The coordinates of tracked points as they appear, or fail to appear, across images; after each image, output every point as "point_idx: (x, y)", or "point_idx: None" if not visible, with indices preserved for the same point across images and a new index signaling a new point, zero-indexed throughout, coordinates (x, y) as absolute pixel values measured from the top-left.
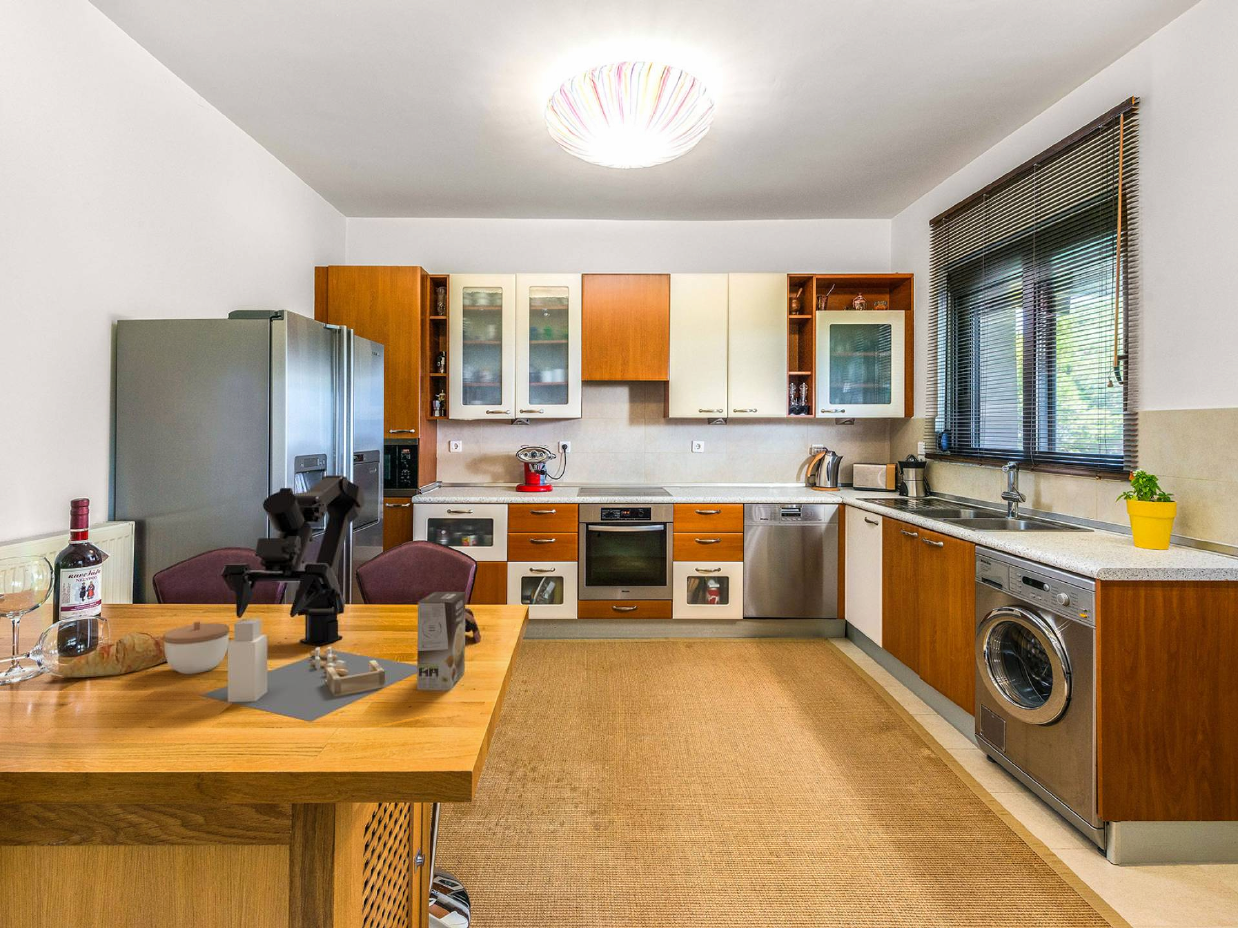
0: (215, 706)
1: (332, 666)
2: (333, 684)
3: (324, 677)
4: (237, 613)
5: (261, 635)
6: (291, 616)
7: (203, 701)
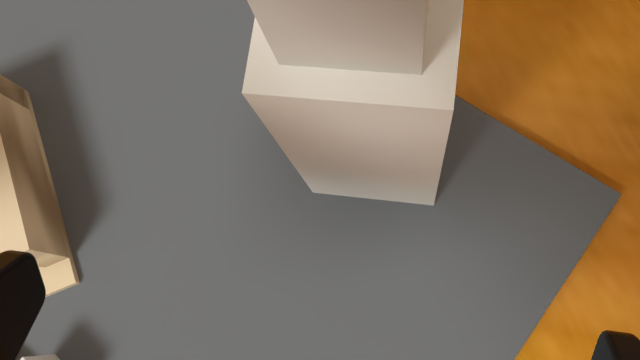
0: (489, 77)
1: (26, 358)
2: (7, 98)
3: (91, 349)
4: (627, 339)
5: (279, 75)
6: (36, 277)
7: (573, 144)
